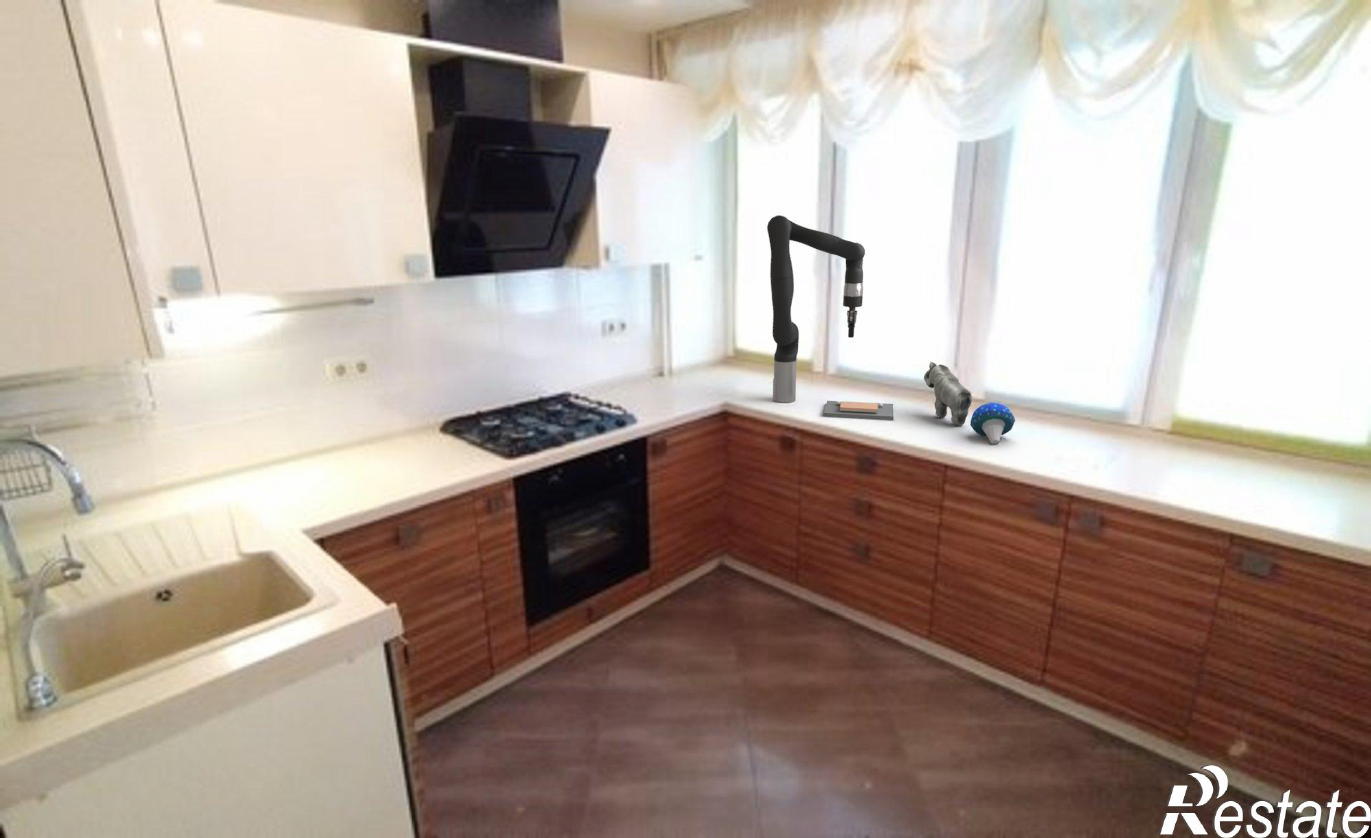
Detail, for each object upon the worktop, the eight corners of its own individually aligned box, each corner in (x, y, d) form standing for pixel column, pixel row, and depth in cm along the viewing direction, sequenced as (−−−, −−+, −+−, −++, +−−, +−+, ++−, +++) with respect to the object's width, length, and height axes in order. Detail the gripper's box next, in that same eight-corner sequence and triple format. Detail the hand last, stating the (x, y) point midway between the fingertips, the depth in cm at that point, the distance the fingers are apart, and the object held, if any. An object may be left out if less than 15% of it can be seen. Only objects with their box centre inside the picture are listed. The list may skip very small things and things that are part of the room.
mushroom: (984, 426, 217) (979, 390, 225) (964, 449, 228) (961, 414, 237) (1026, 434, 216) (1020, 398, 225) (1005, 457, 228) (1000, 422, 237)
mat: (823, 416, 258) (823, 408, 257) (827, 404, 275) (827, 396, 274) (893, 420, 251) (893, 412, 250) (892, 407, 268) (893, 399, 267)
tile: (841, 401, 267) (841, 405, 267) (840, 407, 257) (839, 411, 258) (877, 403, 263) (877, 406, 263) (877, 409, 254) (877, 412, 254)
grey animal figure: (974, 426, 241) (980, 372, 235) (953, 429, 239) (958, 374, 233) (933, 408, 264) (937, 359, 258) (913, 410, 262) (917, 361, 256)
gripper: (844, 292, 273) (842, 334, 278) (842, 296, 261) (840, 339, 266) (863, 292, 271) (861, 334, 276) (862, 296, 259) (859, 340, 264)
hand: (850, 337), depth 271 cm, fingers closed
